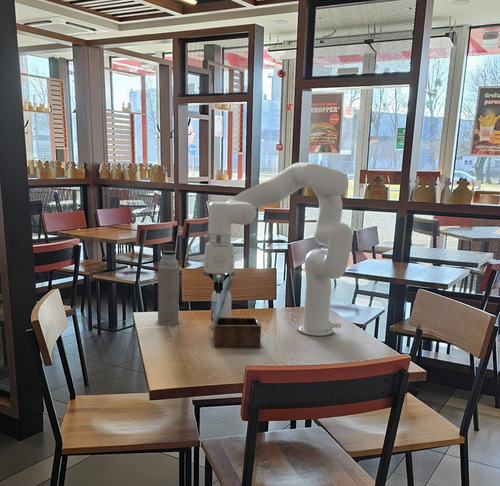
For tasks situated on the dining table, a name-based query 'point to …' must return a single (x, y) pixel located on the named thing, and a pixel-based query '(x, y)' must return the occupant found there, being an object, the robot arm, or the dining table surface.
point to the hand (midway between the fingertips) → (218, 292)
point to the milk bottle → (226, 307)
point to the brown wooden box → (237, 333)
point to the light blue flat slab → (222, 299)
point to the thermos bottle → (168, 290)
